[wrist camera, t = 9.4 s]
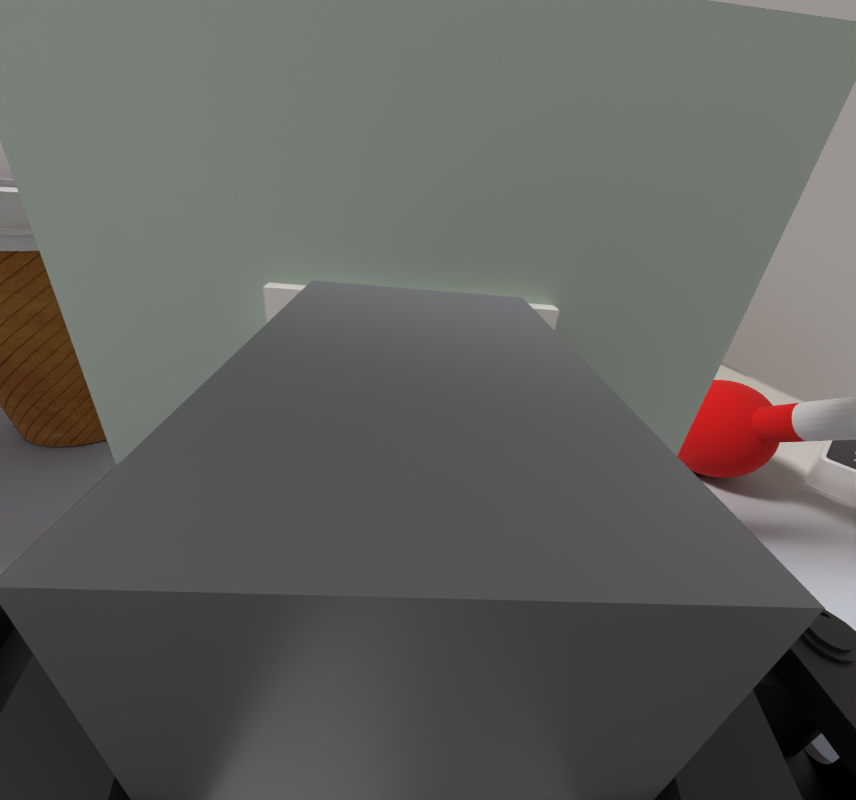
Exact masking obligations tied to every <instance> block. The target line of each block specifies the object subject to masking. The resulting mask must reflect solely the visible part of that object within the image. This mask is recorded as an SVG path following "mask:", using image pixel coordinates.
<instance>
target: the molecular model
mask: <svg viewBox="0 0 856 800" xmlns="http://www.w3.org/2000/svg"><path fill="white" fill-rule="evenodd" d="M830 440H856V396H855V397H847V398H837V399H830V400H820V401H812V402H803V403H794V404H786V405H777V406H773V405H772V404H771V403H770V402H769V401H768V400H767V399H766V398H765V397H764V396H763V395H762V394H761V393H759V392H758V391H756V390H754V389H752V388H751V387H748V386H746V385H744V384H740V383H737V382H732V381H725V380H713V382H712V384H711V386H710V388H709V390H708V392H707V394H706V396H705V398H704V400H703V403H702V405H701V407H700V409H699V411H698V413H697V415H696V417H695V419H694V421H693V424H692V426H691V428H690V430H689V432H688V434H687V436H686V438H685V440H684V442H683V445H682V447H681V449H680V451H679V453H678V455H677V457H678V458H679V459H680V460H681V461H682V462H683V463H684V464H685V465H686V466H687V467H688V468H689V469H690V470H692V471H694V472H696V473H699V474H702V475H705V476H710V477H719V478H729V477H737V476H741V475H745V474H748V473H750V472H753V471H755V470H757V469H758V468H760V467H761V466H763V465H764V464H765V463H766V462H768V461H769V460H770V459H771V457H772V456H773V455H774V453H775V452H776V450H777V448H778V446H779V443H780V442H802V441H830Z"/></svg>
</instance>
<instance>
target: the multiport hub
mask: <svg viewBox="0 0 856 800" xmlns="http://www.w3.org/2000/svg"><path fill="white" fill-rule="evenodd" d="M804 482H805V483H806V484H808V485H809V486H811V487H813V488H815V489H818V490H820V491H822V492H825V493H827V494H829V495H832V496H834V497H836V498H839V499H841V500H843V501H846V502H848V503H850V504H853V505H855V506H856V440H830V441H822V442H821V444H820V446H819V449H818V451H817V453H816V455H815V457H814V460H813V462H812V464H811V466H810V468H809V470H808V473H807V475H806V477H805V479H804Z"/></svg>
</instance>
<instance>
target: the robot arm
mask: <svg viewBox="0 0 856 800" xmlns="http://www.w3.org/2000/svg"><path fill="white" fill-rule="evenodd" d="M821 733H822V734H823V736H824V737H825V738H826V740H827V741H828V742H829V744H830V745H831V746H832V748H833V749H834V751H835V752H836V753H837V755H838V756H839V758H838V759H837V760H836V761H834V762H831V761H829V760H828V759H827V758H825V757H824V756H823V755H821V753H820V752H819V751H818V750H817V749H816V748H815V746H814V745H813V744H812V741H813V740H814V739H816V738H817V737H818V736H819V735H820V734H821ZM0 800H131V799H130V798H129V796H128V795H127V793H126V792H125V790H124V789H123V787H122V786H121V784H120V783H119V781H118V780H117V778H116V777H115V775H114V774H113V772H112V771H111V769H110V768H109V766H108V765H107V763H106V762H105V760H104V759H103V757H102V756H101V754H100V753H99V751H98V750H97V748H96V747H95V745H94V744H93V742H92V741H91V739H90V738H89V736H88V735H87V734H86V732H85V731H84V729H83V728H82V726H81V725H80V723H79V722H78V720H77V719H76V717H75V716H74V714H73V713H72V711H71V710H70V708H69V707H68V705H67V704H66V702H65V701H64V699H63V698H62V696H61V695H60V693H59V692H58V690H57V689H56V687H55V686H54V684H53V683H52V681H51V680H50V678H49V677H48V675H47V674H46V672H45V671H44V669H43V668H42V666H41V665H40V663H39V662H38V660H37V659H36V657H35V656H34V654H33V653H32V651H31V650H30V648H29V647H28V645H27V644H26V642H25V641H24V639H23V638H22V636H21V635H20V633H19V632H18V630H17V629H16V627H15V626H14V624H13V623H12V621H11V620H10V618H9V617H8V615H7V614H6V612H5V611H4V609H3V608H2V606H1V605H0ZM654 800H856V631H855V630H853V629H852V628H851V627H850V626H849V625H848V624H846V623H845V622H844V621H842V620H841V619H839V618H837V617H836V616H834V615H833V614H831V613H829V612H828V611H826V610H825V609H824V610H823V611H822V612H821V613H820V614H819V616H818V617H817V618H816V619H815V620H814V621H813V622H812V623H811V624H810V626H809V627H808V628H807V629H806V630H805V631H804V632H803V633H802V635H801V636H800V637H799V638H798V639H797V640H796V641H795V642H794V644H793V645H792V646H791V647H790V648H789V649H788V650H787V651H786V652H785V654H784V655H783V656H782V657H781V658H780V659H779V660H778V661H777V663H776V664H775V665H774V666H773V667H772V668H771V669H770V670H769V672H768V673H767V674H766V675H765V676H764V677H763V678H762V679H761V680H760V682H759V683H758V684H757V685H756V686H755V687H754V688H753V689H752V691H751V692H750V693H749V694H748V695H747V696H746V697H745V698H744V700H743V701H742V702H741V703H740V704H739V705H738V706H737V707H736V708H735V710H734V711H733V712H732V713H731V714H730V715H729V716H728V717H727V719H726V720H725V721H724V722H723V723H722V724H721V725H720V726H719V728H718V729H717V730H716V731H715V732H714V733H713V734H712V735H711V736H710V738H709V739H708V740H707V741H706V742H705V743H704V744H703V745H702V747H701V748H700V749H699V750H698V751H697V752H696V753H695V754H694V756H693V757H692V758H691V759H690V760H689V761H688V762H687V763H686V764H685V766H684V767H683V768H682V769H681V770H680V771H679V772H678V773H677V775H676V776H675V777H674V778H673V779H672V780H671V781H670V782H669V784H668V785H667V786H666V787H665V788H664V789H663V790H662V791H661V793H660V794H659V795H658V796H657V797H656V798H655V799H654Z"/></svg>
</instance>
